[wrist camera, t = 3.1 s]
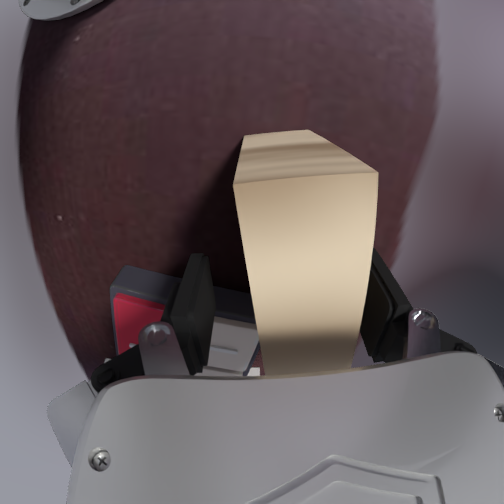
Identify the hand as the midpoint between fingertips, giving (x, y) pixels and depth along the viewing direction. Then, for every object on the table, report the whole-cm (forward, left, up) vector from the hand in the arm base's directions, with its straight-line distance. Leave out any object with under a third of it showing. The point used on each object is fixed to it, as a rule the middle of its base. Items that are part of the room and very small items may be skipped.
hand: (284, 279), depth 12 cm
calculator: (+11, -8, -6) cm, 15 cm away
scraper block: (0, +1, -5) cm, 5 cm away
